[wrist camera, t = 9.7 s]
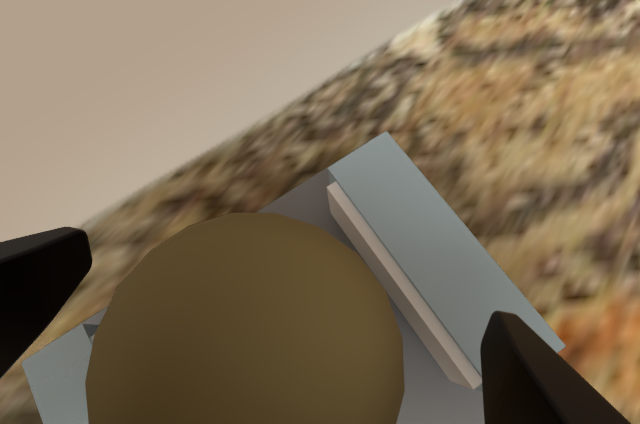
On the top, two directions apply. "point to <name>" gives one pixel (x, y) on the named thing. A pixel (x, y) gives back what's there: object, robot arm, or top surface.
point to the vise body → (414, 273)
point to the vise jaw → (62, 376)
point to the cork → (248, 332)
